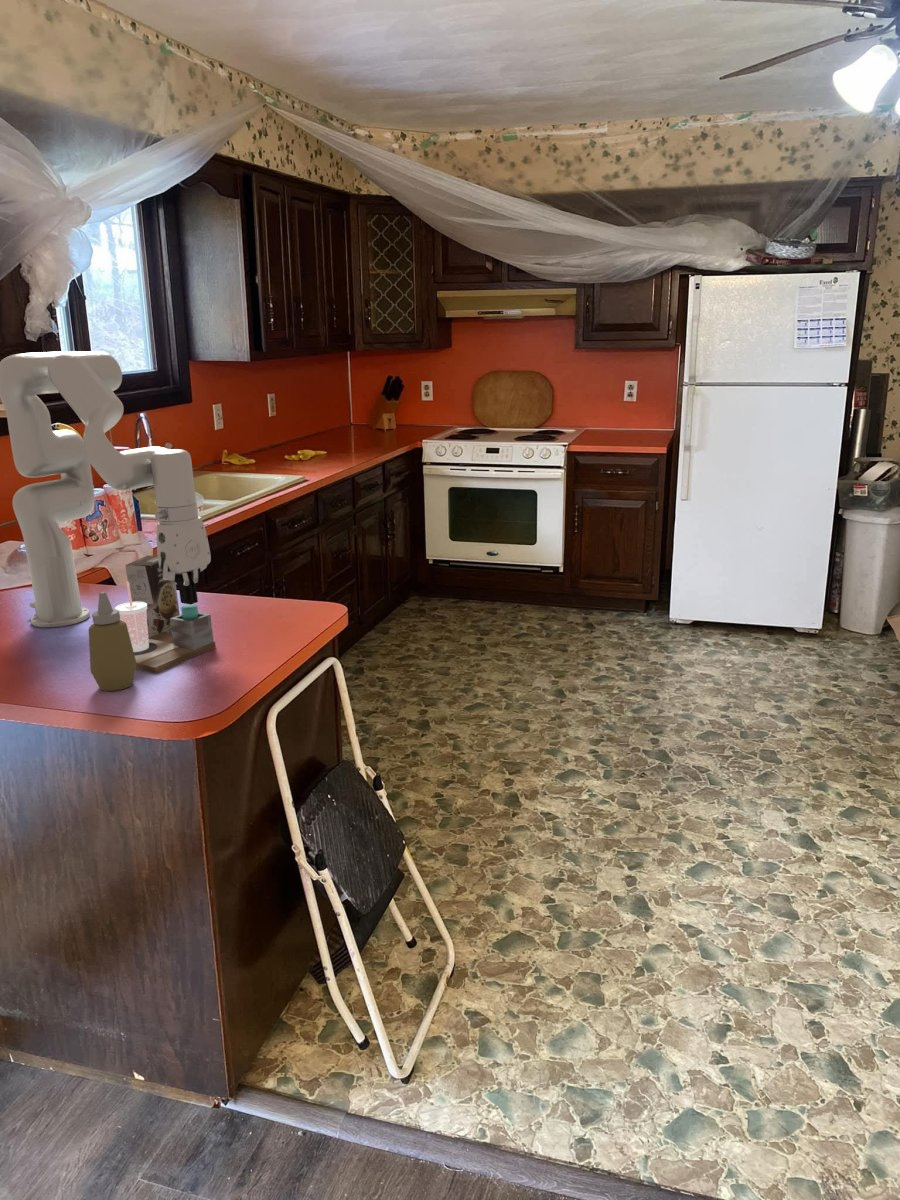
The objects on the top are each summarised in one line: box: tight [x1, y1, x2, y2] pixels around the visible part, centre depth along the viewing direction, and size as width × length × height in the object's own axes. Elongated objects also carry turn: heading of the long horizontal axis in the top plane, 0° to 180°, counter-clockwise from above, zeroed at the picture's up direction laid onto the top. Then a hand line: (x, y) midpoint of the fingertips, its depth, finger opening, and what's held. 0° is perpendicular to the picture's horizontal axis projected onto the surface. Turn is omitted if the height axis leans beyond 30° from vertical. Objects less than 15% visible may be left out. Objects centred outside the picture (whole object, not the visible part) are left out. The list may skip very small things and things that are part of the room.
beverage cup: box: [114, 581, 149, 652], centre depth 179 cm, size 6×6×14 cm
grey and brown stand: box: [134, 611, 217, 674], centre depth 181 cm, size 15×16×7 cm
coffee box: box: [125, 555, 181, 638], centre depth 194 cm, size 9×6×16 cm
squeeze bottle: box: [88, 591, 137, 692], centre depth 164 cm, size 8×8×18 cm
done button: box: [180, 604, 199, 620], centre depth 182 cm, size 3×3×3 cm
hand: (189, 602), depth 181 cm, fingers closed
